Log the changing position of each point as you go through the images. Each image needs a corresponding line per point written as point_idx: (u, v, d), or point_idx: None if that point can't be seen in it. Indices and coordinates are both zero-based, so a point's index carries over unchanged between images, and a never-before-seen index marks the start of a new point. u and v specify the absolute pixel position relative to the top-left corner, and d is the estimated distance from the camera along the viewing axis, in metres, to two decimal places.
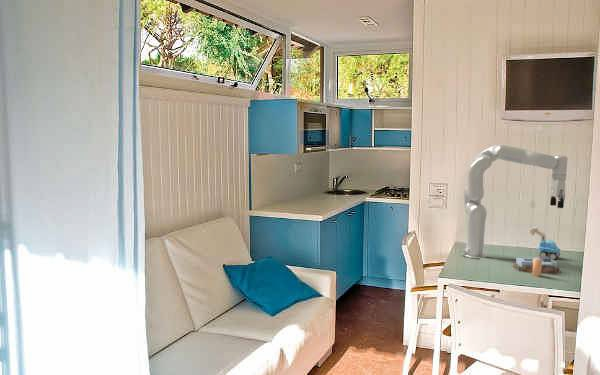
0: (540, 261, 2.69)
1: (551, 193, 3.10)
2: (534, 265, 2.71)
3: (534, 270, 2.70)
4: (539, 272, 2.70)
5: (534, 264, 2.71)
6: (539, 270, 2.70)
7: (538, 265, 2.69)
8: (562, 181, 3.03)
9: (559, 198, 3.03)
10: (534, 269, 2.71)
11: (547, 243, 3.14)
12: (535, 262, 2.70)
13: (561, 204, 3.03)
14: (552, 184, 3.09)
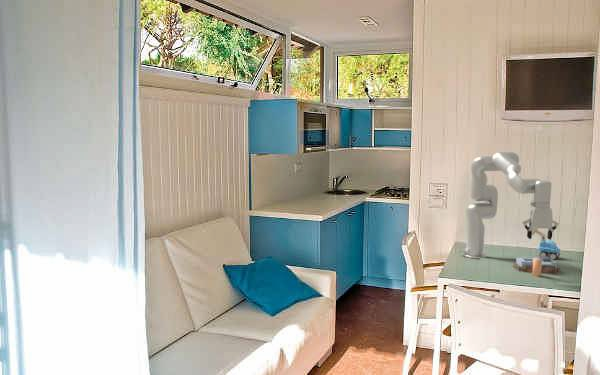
0: (540, 261, 2.69)
1: (538, 225, 2.66)
2: (534, 265, 2.71)
3: (534, 270, 2.70)
4: (539, 272, 2.70)
5: (534, 264, 2.71)
6: (539, 270, 2.70)
7: (538, 265, 2.69)
8: None
9: (552, 228, 2.68)
10: (534, 269, 2.71)
11: (547, 243, 3.14)
12: (535, 262, 2.70)
13: None
14: (540, 214, 2.66)
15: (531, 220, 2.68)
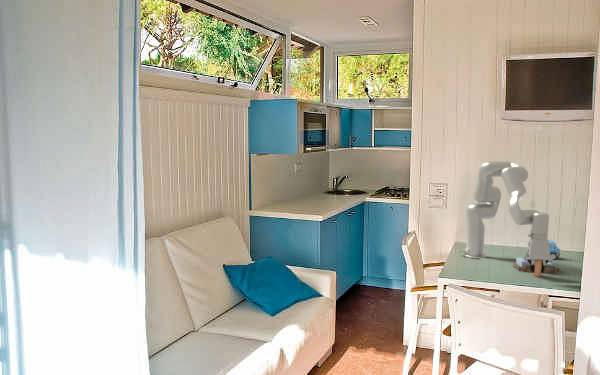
0: (540, 261, 2.69)
1: (536, 257, 2.68)
2: (534, 265, 2.71)
3: (534, 270, 2.70)
4: (539, 272, 2.70)
5: (534, 264, 2.71)
6: (539, 270, 2.70)
7: (538, 265, 2.69)
8: None
9: (545, 262, 2.70)
10: (534, 269, 2.71)
11: None
12: (535, 262, 2.70)
13: None
14: (538, 246, 2.67)
15: (529, 252, 2.69)
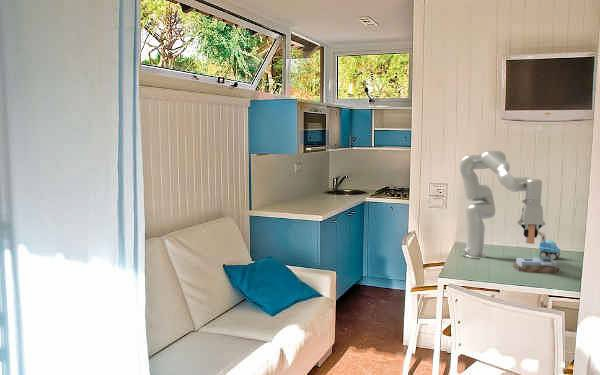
0: (533, 226, 2.79)
1: (529, 222, 2.78)
2: None
3: (528, 235, 2.80)
4: (532, 236, 2.80)
5: (528, 229, 2.81)
6: (532, 234, 2.80)
7: (532, 230, 2.79)
8: None
9: (538, 227, 2.80)
10: (528, 234, 2.81)
11: (547, 243, 3.14)
12: (529, 227, 2.80)
13: None
14: (531, 211, 2.77)
15: (522, 217, 2.79)
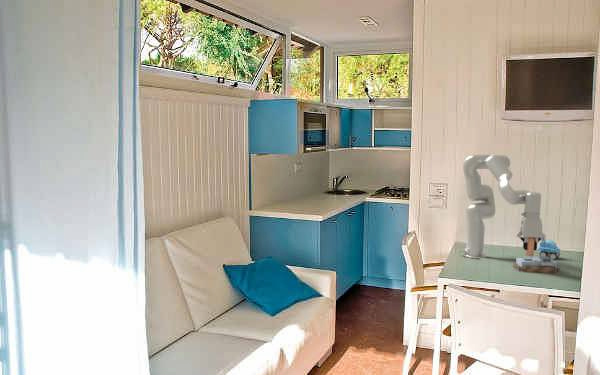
0: (533, 239, 2.80)
1: (529, 234, 2.79)
2: (527, 242, 2.81)
3: (527, 248, 2.81)
4: (532, 249, 2.81)
5: (527, 242, 2.81)
6: (532, 247, 2.80)
7: (531, 242, 2.80)
8: None
9: (538, 240, 2.80)
10: (527, 246, 2.81)
11: (547, 243, 3.14)
12: (528, 240, 2.81)
13: None
14: (530, 224, 2.78)
15: (522, 230, 2.80)
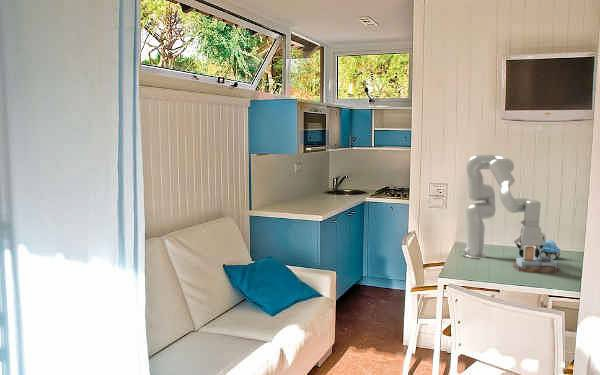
0: (532, 249, 2.81)
1: (528, 243, 2.79)
2: (526, 252, 2.82)
3: (526, 258, 2.82)
4: (531, 259, 2.81)
5: (526, 252, 2.82)
6: (531, 257, 2.81)
7: (530, 253, 2.81)
8: None
9: (539, 247, 2.81)
10: (526, 256, 2.82)
11: (547, 243, 3.14)
12: (527, 250, 2.81)
13: None
14: (530, 233, 2.79)
15: (521, 238, 2.81)
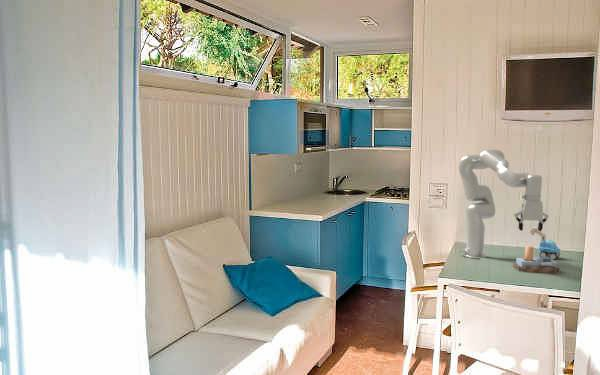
0: (532, 249, 2.81)
1: (529, 217, 2.78)
2: (526, 252, 2.82)
3: (526, 258, 2.82)
4: (531, 259, 2.81)
5: (526, 252, 2.82)
6: (531, 257, 2.81)
7: (530, 253, 2.81)
8: None
9: (542, 220, 2.80)
10: (526, 256, 2.82)
11: (547, 243, 3.14)
12: (527, 250, 2.81)
13: None
14: (531, 207, 2.78)
15: (522, 212, 2.80)
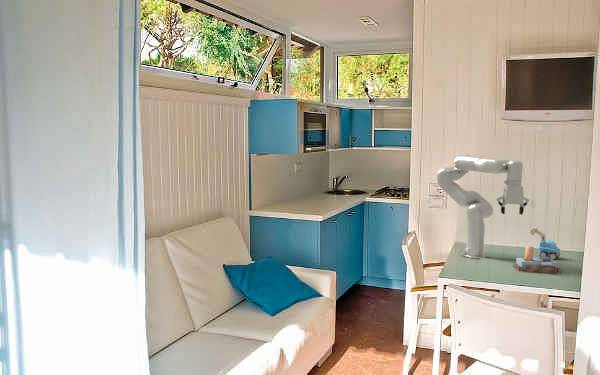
0: (532, 249, 2.81)
1: (510, 201, 2.93)
2: (526, 252, 2.82)
3: (527, 258, 2.82)
4: (531, 259, 2.81)
5: (526, 251, 2.82)
6: (531, 257, 2.81)
7: (530, 252, 2.81)
8: None
9: (523, 204, 2.95)
10: (526, 256, 2.82)
11: (547, 243, 3.14)
12: (527, 250, 2.81)
13: None
14: (512, 191, 2.93)
15: (504, 197, 2.95)
